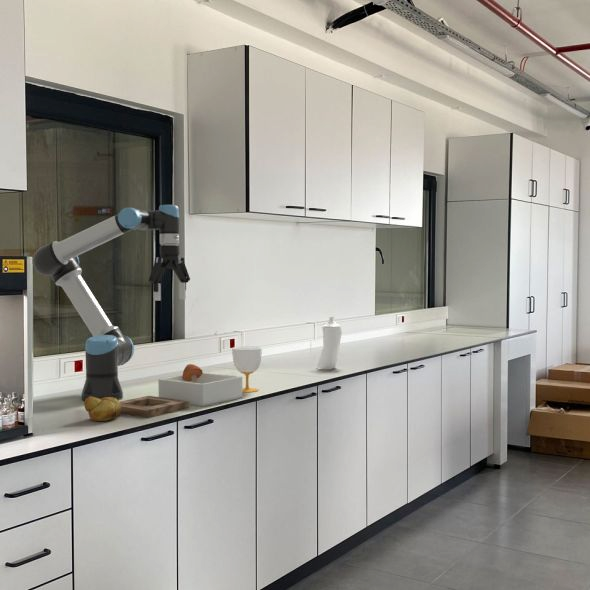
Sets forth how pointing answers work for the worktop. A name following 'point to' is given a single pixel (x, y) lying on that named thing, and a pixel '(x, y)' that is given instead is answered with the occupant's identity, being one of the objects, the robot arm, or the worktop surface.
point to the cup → (247, 362)
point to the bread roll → (102, 408)
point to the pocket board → (152, 406)
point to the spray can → (330, 345)
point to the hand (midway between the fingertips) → (170, 299)
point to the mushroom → (192, 373)
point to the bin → (202, 389)
